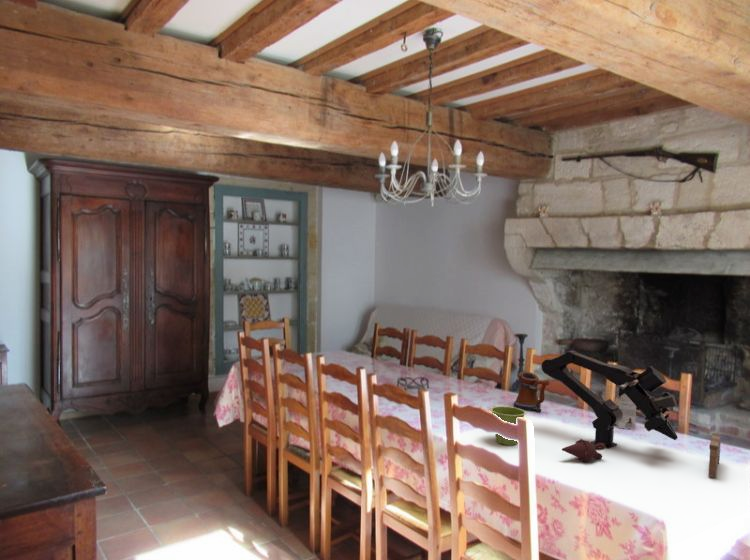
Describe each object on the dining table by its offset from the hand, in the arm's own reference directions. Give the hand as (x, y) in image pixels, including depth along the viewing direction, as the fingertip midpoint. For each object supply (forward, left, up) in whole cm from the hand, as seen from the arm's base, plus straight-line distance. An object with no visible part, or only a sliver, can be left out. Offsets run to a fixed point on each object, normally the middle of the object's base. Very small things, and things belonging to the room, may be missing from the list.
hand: (676, 438), depth 183 cm
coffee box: (+22, +30, -7) cm, 38 cm away
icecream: (-27, +17, -7) cm, 32 cm away
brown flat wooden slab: (+1, -11, -7) cm, 13 cm away
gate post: (+9, -8, -7) cm, 14 cm away
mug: (+9, +64, -7) cm, 65 cm away
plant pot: (-34, +42, -7) cm, 54 cm away
